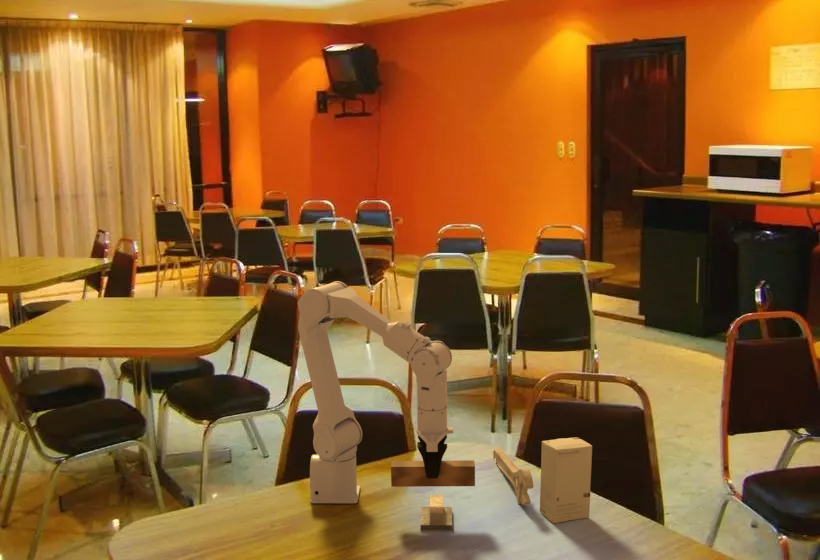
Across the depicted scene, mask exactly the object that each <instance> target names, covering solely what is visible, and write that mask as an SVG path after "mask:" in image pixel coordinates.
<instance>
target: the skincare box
mask: <svg viewBox="0 0 820 560" xmlns="http://www.w3.org/2000/svg"><path fill="white" fill-rule="evenodd" d="M592 456H593V445H591V443H588V442H587V441H585V440H584V439H581V438H580V437H576V436H575V437H567V438H564V437H563V438H556V439H549V440H548V439H547V440H542V441H541V462H540V463H541V464H540V487H539V489H540V490H539V491H540V492H539V493H540V494H539V512H540V513H541V515H543V516H544V517H545V518H546V519H547V520H548V521H550V522H551V523H552V524H554V525H555V524H558V523H562V522H569V520H570V521H575V520H581V519H588V518H590V508H591V506H590V505H591V484H592V483H591V479H592V459H593V457H592Z"/></svg>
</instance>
